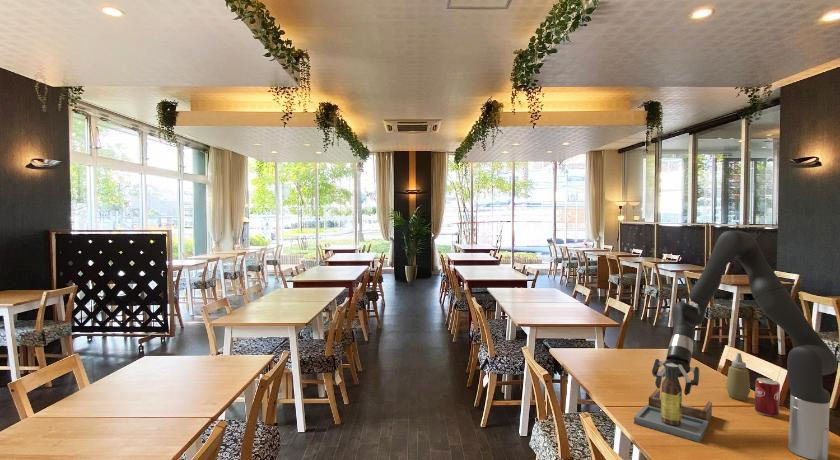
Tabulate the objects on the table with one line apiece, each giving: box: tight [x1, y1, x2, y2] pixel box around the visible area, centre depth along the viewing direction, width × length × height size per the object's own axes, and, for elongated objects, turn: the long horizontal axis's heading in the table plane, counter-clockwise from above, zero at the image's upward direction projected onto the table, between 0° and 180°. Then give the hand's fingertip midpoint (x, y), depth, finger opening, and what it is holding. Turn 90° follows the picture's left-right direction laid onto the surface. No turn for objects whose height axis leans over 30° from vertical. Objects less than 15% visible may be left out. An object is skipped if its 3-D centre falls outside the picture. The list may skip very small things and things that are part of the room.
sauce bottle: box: [660, 364, 683, 426], centre depth 158 cm, size 6×6×20 cm
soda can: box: [754, 377, 781, 417], centre depth 169 cm, size 7×7×12 cm
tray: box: [633, 404, 709, 443], centre depth 158 cm, size 20×14×2 cm
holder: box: [648, 388, 713, 422], centre depth 168 cm, size 18×11×5 cm, turn 49°
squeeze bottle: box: [725, 352, 751, 401], centre depth 183 cm, size 8×8×18 cm
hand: (671, 390), depth 158 cm, fingers open, 8 cm apart
